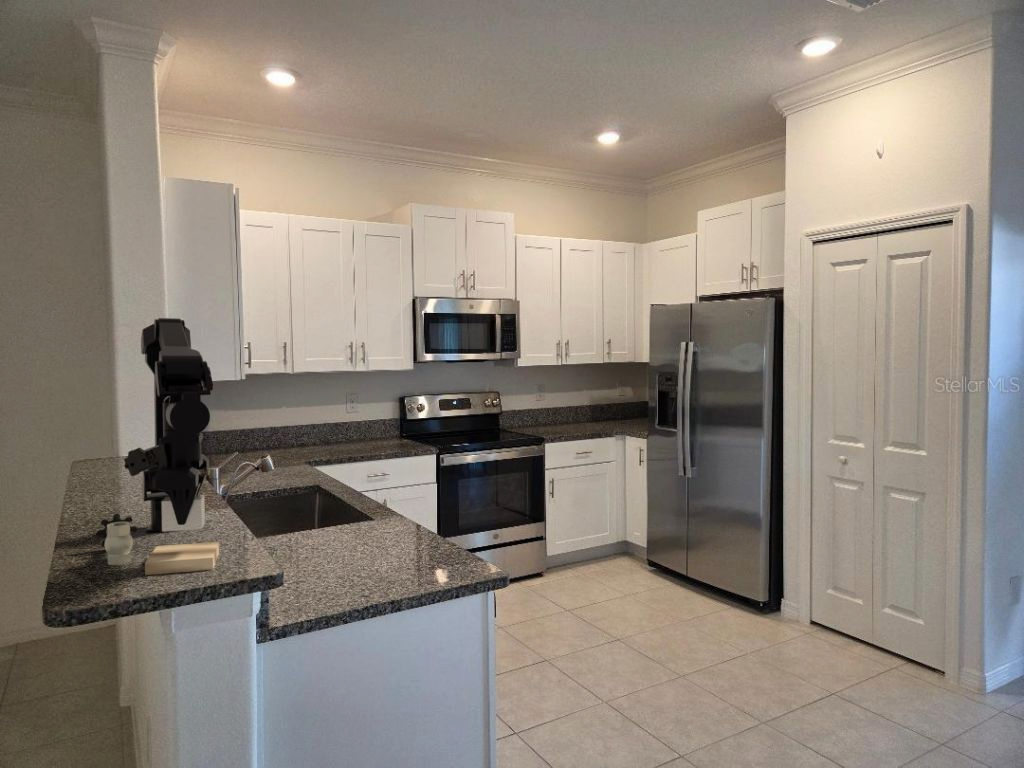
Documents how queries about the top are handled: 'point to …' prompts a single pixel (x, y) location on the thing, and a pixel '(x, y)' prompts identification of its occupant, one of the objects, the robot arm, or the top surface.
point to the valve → (117, 539)
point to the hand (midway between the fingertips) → (183, 521)
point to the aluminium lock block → (193, 521)
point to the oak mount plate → (182, 558)
